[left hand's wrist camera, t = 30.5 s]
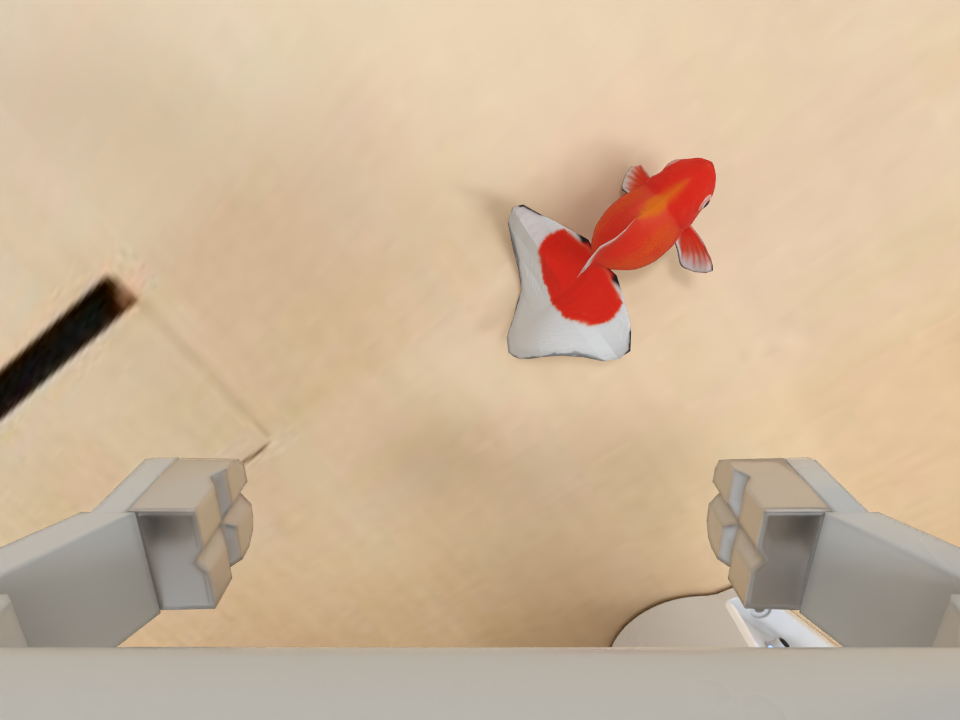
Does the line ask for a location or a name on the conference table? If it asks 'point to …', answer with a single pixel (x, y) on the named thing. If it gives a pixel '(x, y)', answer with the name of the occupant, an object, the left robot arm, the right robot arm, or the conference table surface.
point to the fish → (602, 262)
